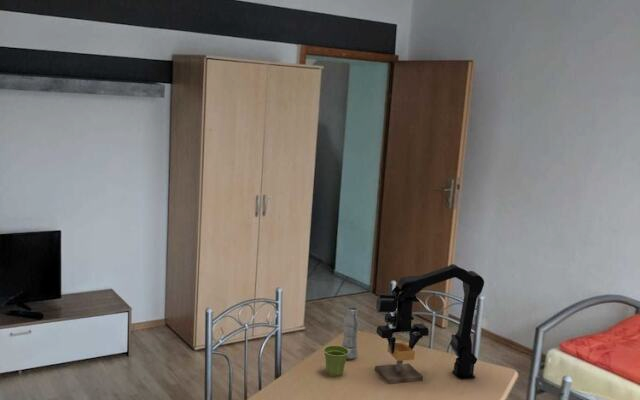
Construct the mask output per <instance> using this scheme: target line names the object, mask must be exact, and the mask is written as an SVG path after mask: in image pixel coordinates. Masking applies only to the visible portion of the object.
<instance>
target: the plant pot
mask: <svg viewBox="0 0 640 400" xmlns="http://www.w3.org/2000/svg"><path fill="white" fill-rule="evenodd" d="M323 353H324V357H325V358H324V359H325V368H326V370H325V371H326V373H327V374H328V375H329V376H335V377H338V376H342V375H343V374H344V370H345V366H346V361H347V359H346V358H347V356H348V354H349V350H348V349H347V348H345V347H342V345H327V346H325V347H324V348H323Z"/></svg>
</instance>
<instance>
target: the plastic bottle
mask: <svg viewBox="0 0 640 400" xmlns="http://www.w3.org/2000/svg"><path fill="white" fill-rule="evenodd" d="M357 315H358V308H357V307H354V306H350V307H347V314H346V315H345V317H344V319H343V324H342V325H343V338H342V345H341V346H342V347H345V348H347V349H348V350H349V354H348V356H347V358H346V360H354V359H355V358H356V357H357V356H358V334H359V328H360V324H361V323H360V322H361V321H360V318H359V316H357Z"/></svg>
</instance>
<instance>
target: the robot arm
mask: <svg viewBox="0 0 640 400" xmlns="http://www.w3.org/2000/svg"><path fill="white" fill-rule="evenodd" d="M454 278H456V279H458V280H460V281H461V282H462V289H463V299H462V300H463V301H462V306H461V312H460V319H459V324H458V330H457V331H456V333H455V334H453V333H452V334H451V335H450V336H451V337H450V338H451V339H450V342H449V345H450V347H451V350H452V351H453V352H454V354H455V356H457V357H456V358H455V362H454V365H453V370H452V371H451V372H452V374H454V375H455V376H456V377H457V378H458V379H462V380H463V379H464V380H466V379H473V378H476V375H475V374H474V370H475V369H474V368H475V364H477V361H478V358H477V357H476V356H475V354H474V353H473V343H472V342H473V341H472V337H471V333H472V327H473V324H474V323H473V322H474V317H475V310H476V306H477V301H478V297H479V296H480V295H481V294H482V291H483V288H484V286H485V279H484V278H483V277H482V276H481V275H479V274H478V273H477V272H476V271H473V270H466V269H464V268H463V267H459V266H458V265H457V264H454V263H452V264H449V265H447V266H444V267H442V268H439V269H436V270H433V271H430V272H427V273H423V274H421V275H407V276H402V277H400V278H399V279H398V281H397V284H396V286H395V287H394V288H393V289H392V290H391V291H390V293H382V292H379V293H378V297H377V299H376V300H375V301H376V302H375V307H376V308H375V309H376V311H377V313H384V322H385V323H389V325H392V328H391V327H390V326H388V325H378V327H376V334H377V335H378V336H379V337H380V338H381V339H386V340H387V342H388V343H389V346H390V350H391V353H392V354H393V353H394V348H395V343H396V341H397V340H396V339H397V338H396V337H395V334H408V335H409V339H408V340H409V341H408V346H409V347H410V348H411V349H412V350H414V348H415V346H416V344H417V343H418V342H419V341H420V339H423V337H425V336H426V337H427V336H429V334H430V330H429V328H428V326H426V325H425V324H424V323H413V324H412V321H413V320H414V318H415V317H414V316H413V313H414V312H413V311H414V302H415V303H417V302H418V303H419V302H420V299H419V298H418V297H417V294H418V293H420V292H422V290H423V289H425V288H428V287H430V286H433V285H436V284H439V283H443V282H445V281H448V280H451V279H454ZM394 312H395V313H394ZM393 313H394V315H392V314H393ZM388 343H387V344H388Z"/></svg>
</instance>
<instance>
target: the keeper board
mask: <svg viewBox="0 0 640 400" xmlns="http://www.w3.org/2000/svg"><path fill="white" fill-rule="evenodd" d="M403 362H404V360H403V361H397V360H396V364H385V365H383V364H381V365H374V370H375V372H376V373H377V374H378V375H379V376H380V377H381V378H382V379H383V381H384V382H386V383H387V385H389V384H390V383H391V384H401V383H412V382H413V383H414V382H415V383H416V382H423V381H424V376H423V374H421V373H420V372H418V370H417V369H416V368H414V367H413V366H412V365H411V364H410V363H403ZM391 384H390V385H391Z"/></svg>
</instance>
